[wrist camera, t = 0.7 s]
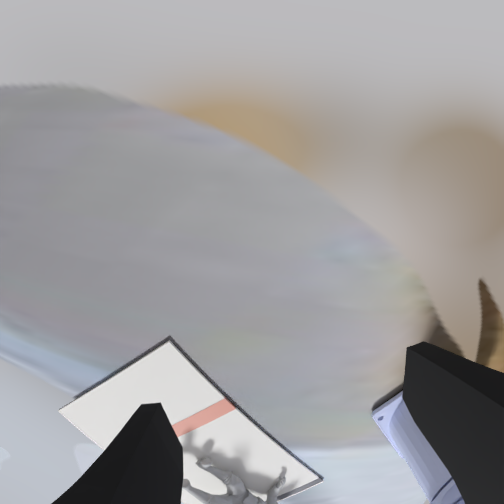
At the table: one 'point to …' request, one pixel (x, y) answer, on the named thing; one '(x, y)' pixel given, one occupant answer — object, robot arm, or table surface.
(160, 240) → the table surface
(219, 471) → the soldier figure
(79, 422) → the mat
